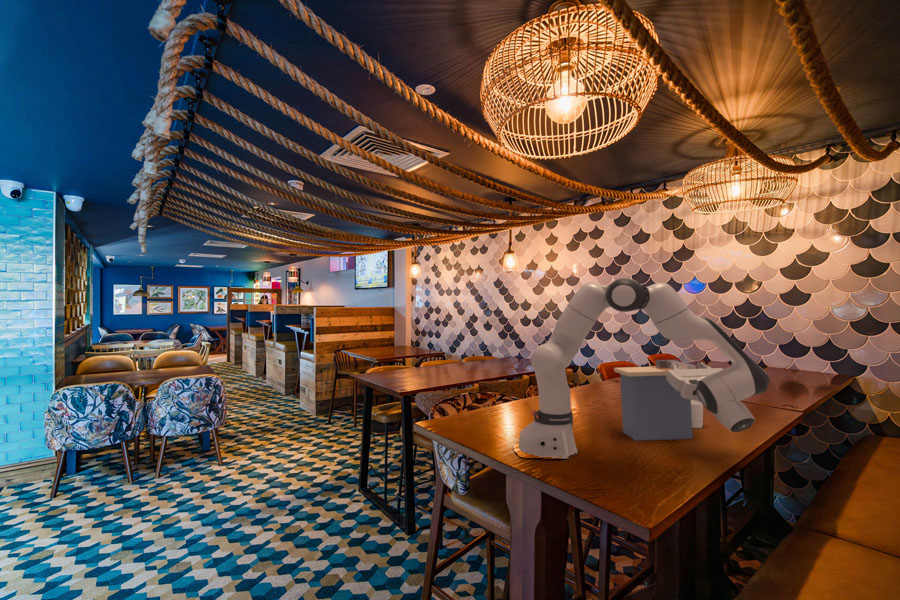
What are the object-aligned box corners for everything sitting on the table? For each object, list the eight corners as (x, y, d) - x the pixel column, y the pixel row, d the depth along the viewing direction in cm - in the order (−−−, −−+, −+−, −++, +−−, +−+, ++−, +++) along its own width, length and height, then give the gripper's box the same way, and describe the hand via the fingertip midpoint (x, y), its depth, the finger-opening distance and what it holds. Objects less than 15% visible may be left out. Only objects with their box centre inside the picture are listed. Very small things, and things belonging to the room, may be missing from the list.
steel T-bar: (680, 374, 134) (680, 365, 134) (655, 367, 150) (655, 360, 150) (702, 373, 134) (702, 365, 134) (675, 367, 150) (675, 359, 150)
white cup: (704, 424, 159) (702, 400, 159) (704, 429, 152) (703, 405, 152) (682, 422, 163) (681, 399, 163) (681, 427, 156) (680, 403, 157)
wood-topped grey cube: (631, 441, 141) (628, 372, 142) (616, 431, 153) (614, 367, 154) (699, 439, 141) (696, 369, 142) (680, 429, 153) (676, 365, 154)
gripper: (744, 381, 124) (716, 356, 136) (682, 383, 123) (660, 358, 136) (737, 396, 127) (711, 370, 139) (677, 398, 126) (656, 371, 139)
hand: (686, 364), depth 137 cm, fingers open, 8 cm apart
